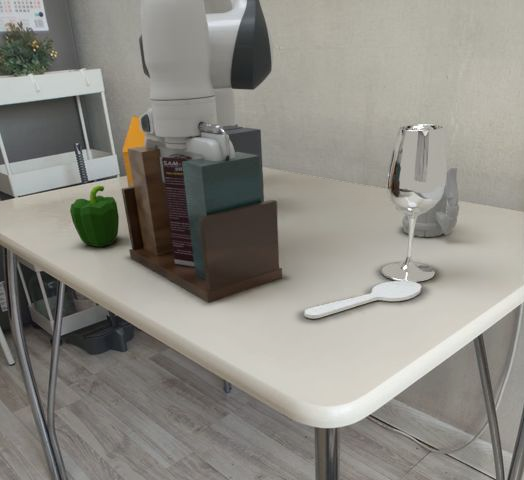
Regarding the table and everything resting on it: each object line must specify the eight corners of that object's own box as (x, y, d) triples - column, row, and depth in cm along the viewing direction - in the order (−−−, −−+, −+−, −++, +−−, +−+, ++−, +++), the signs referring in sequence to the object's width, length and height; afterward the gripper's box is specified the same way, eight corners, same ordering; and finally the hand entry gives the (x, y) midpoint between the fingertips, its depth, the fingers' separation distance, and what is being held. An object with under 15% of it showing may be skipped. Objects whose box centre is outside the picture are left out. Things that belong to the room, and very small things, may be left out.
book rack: (130, 257, 90) (111, 149, 82) (196, 240, 97) (184, 138, 88) (208, 302, 73) (193, 170, 64) (282, 277, 79) (278, 154, 71)
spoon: (295, 308, 69) (295, 305, 69) (405, 279, 76) (405, 276, 75) (316, 324, 65) (316, 321, 65) (431, 292, 72) (431, 288, 71)
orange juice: (162, 217, 112) (147, 113, 102) (193, 222, 107) (181, 114, 97) (134, 227, 106) (115, 118, 96) (166, 233, 102) (150, 120, 92)
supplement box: (200, 268, 80) (187, 158, 72) (173, 265, 82) (158, 157, 74) (229, 250, 87) (220, 147, 79) (204, 247, 89) (193, 146, 81)
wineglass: (401, 287, 74) (415, 133, 64) (370, 269, 80) (378, 127, 70) (446, 276, 76) (466, 127, 67) (412, 260, 83) (426, 121, 73)
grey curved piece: (429, 222, 99) (436, 155, 93) (471, 240, 89) (482, 166, 84) (393, 228, 97) (398, 160, 91) (432, 247, 87) (441, 172, 81)
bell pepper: (85, 253, 93) (72, 196, 88) (73, 242, 100) (60, 188, 95) (131, 243, 97) (121, 188, 92) (116, 233, 103) (106, 180, 98)
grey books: (201, 209, 116) (192, 130, 108) (235, 201, 120) (229, 125, 112) (229, 219, 108) (222, 135, 100) (264, 210, 112) (260, 129, 105)
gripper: (247, 122, 68) (253, 228, 75) (170, 113, 83) (181, 203, 90) (205, 128, 65) (215, 238, 72) (133, 118, 80) (147, 210, 86)
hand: (196, 218), depth 81 cm, fingers closed on supplement box, 6 cm apart
